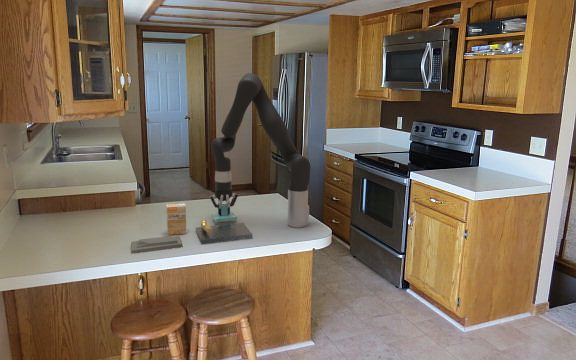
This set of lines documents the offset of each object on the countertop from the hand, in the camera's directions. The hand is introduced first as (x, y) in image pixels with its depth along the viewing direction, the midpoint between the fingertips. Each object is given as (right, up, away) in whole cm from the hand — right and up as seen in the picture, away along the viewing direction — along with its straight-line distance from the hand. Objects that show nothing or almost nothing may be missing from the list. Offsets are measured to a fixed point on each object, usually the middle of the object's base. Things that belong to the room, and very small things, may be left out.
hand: (224, 214), depth 222 cm
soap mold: (-24, -11, -29) cm, 39 cm away
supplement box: (-19, -7, -14) cm, 25 cm away
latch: (-5, -6, -20) cm, 21 cm away
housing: (+2, -8, -16) cm, 18 cm away
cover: (0, -1, +1) cm, 2 cm away
